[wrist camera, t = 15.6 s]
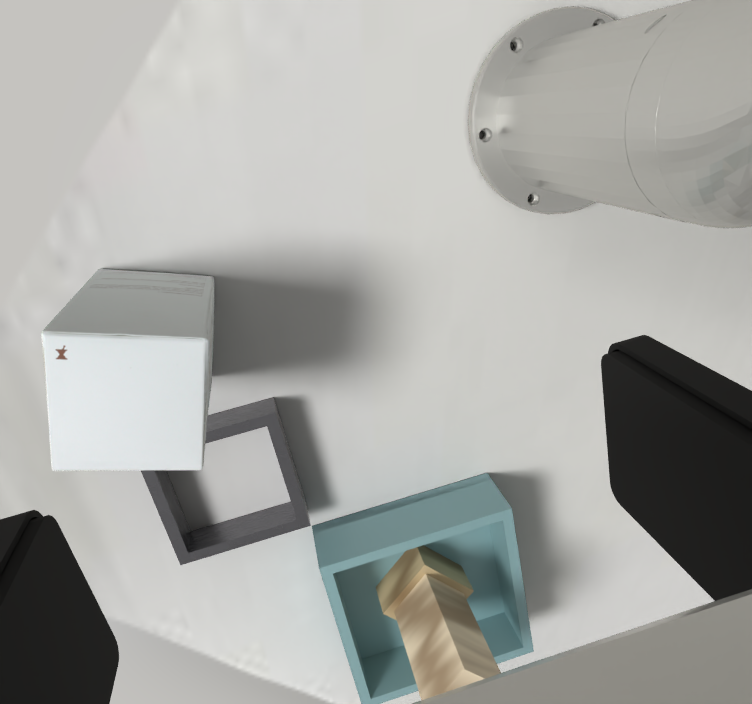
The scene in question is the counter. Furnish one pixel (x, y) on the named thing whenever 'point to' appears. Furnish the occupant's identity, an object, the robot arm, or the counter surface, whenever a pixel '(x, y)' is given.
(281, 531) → the collar
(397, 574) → the strut
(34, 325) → the counter surface
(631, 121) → the robot arm
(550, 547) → the counter surface
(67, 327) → the supplement box
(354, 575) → the bin
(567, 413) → the counter surface
